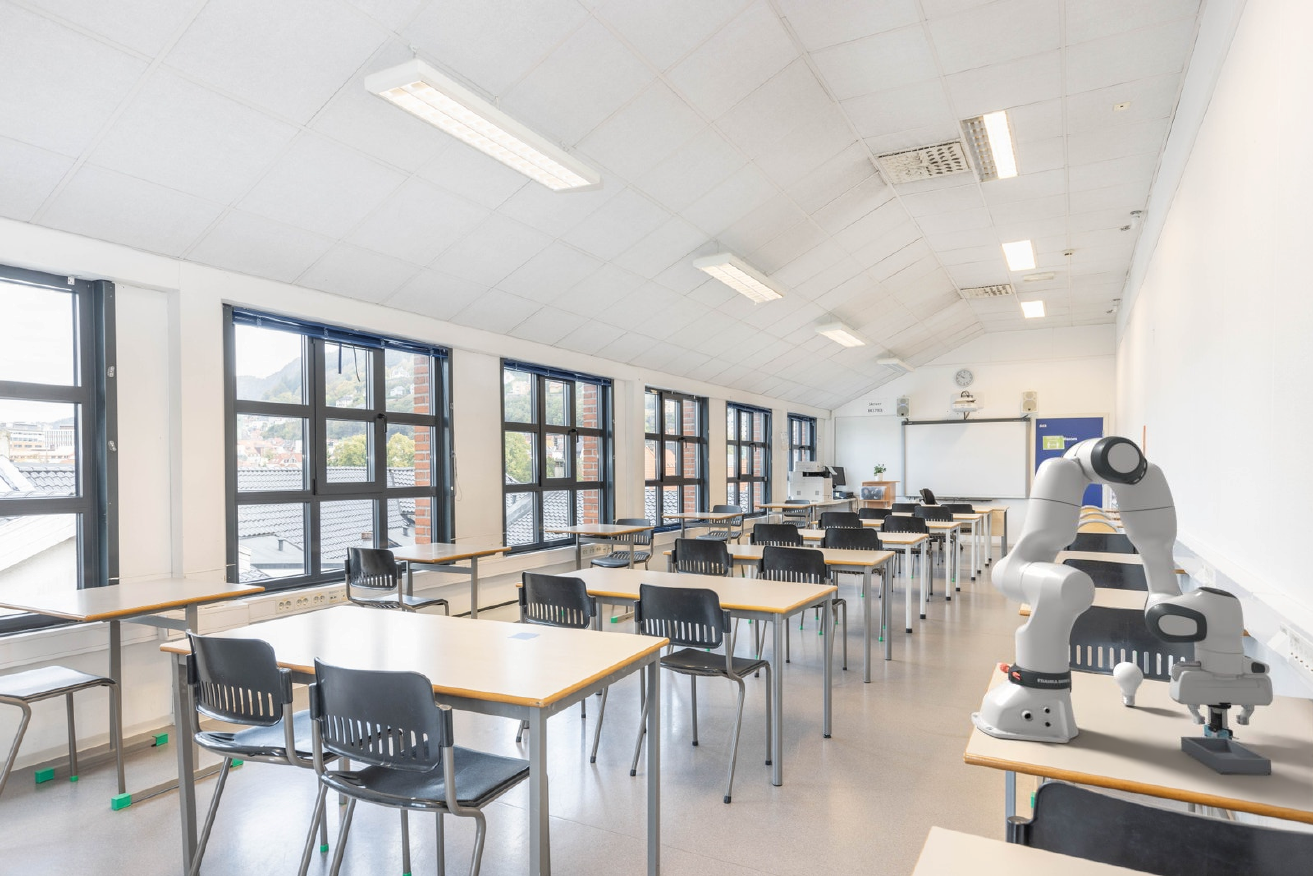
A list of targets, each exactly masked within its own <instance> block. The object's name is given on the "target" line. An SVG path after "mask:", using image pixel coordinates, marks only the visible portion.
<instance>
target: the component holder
mask: <svg viewBox="0 0 1313 876" xmlns="http://www.w3.org/2000/svg"><path fill="white" fill-rule="evenodd" d="M1237 742H1238V741H1236V742H1235V740H1233V739H1232V740H1231V739H1229V738H1227V737H1205V736H1180V744H1181V745H1180V748H1181V749H1180V750H1181V752H1183V753H1184V754H1186V755H1188V756H1189V757H1191V758H1193V759H1194V760H1196V761H1198V762H1200V763H1201V764H1203V765H1204V766H1206V767H1208V768H1210V769H1211V770H1213V771H1215V772H1216V773H1217V774H1218V773H1219V774H1220V775H1225V776H1226V775H1229V776H1230V775H1231V776H1232V775H1233V776H1234V775H1235V776H1237V775H1238V776H1272V759H1270V758H1267V757H1266V756H1264V755H1261V754H1260V753H1258V752H1256V751H1254V750H1253V749H1250V748H1249V747H1246V746H1245V745H1243V744H1240V742H1239V743H1237Z"/></svg>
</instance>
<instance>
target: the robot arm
mask: <svg viewBox="0 0 1313 876" xmlns="http://www.w3.org/2000/svg"><path fill="white" fill-rule="evenodd" d="M1092 484H1094V485H1107V486H1109V488H1110V489H1111V490H1112V491H1113V493H1114V496H1115V498H1116V505H1117V510H1118V515H1119V518H1120V521H1121V522H1120V523H1121V524H1122V528H1123V529H1124V532H1125V534H1126V537H1127V539H1128V540H1129V542H1130V543H1131V544H1132V545H1133V547H1134V548H1135V549H1136V550H1137V552H1138V554H1139V556H1140V558H1141V563H1142V566H1143V571H1144V575H1145V580H1146V585H1147V596H1146V600H1145V603H1144V608H1143V614H1144V622H1145V625H1146V629H1147V631H1149V633H1150V634H1151V635H1152V636H1153V637H1154V638H1156V639H1157V640H1160V641H1162V642H1164V643H1170V644H1187V643H1191V644H1192V643H1194V644H1193V645H1194V660H1191V661H1189V660H1188V661H1184V660H1179V661H1176V663H1174V664H1173V665H1172V666H1171V668H1170V681H1169V696H1170V698H1171V699H1172V700H1173V701H1174V702H1176V703H1178V704H1180V705H1184V706H1187V709H1188V710H1189V712H1190V714H1191V715H1192V721H1193V723H1194V724H1196V725H1206V717H1205V716H1203V715H1201V713H1200V712H1199V710H1200V709H1201V706H1207V705H1221V704H1219V702H1223V703H1231V704H1227V705H1231V706H1240V707H1241V708H1242V710H1241V712H1240V713H1239V714H1236V715H1235V716H1236V717H1235V718H1236V719H1235V720H1236V723H1237V724H1238V725H1240V726H1249V725H1250V718H1251V716H1252V715H1253V713H1254V712H1255V707H1256V706H1261V707H1262V706H1263V707H1264V706H1265V707H1266V706H1267V707H1268V706H1270V705H1271V704H1272V702H1273V701H1274V692H1273V683H1272V679H1271V677H1270V675H1268V674H1269V673H1270V670H1271V669H1270V667H1271V666H1270V665H1269V664H1267V663H1266V662H1264V661H1261V660H1257V659H1254V658H1252V657H1250V656H1248V655H1245V647H1244V644H1243V636H1244V633H1245V628H1244V615H1243V614H1244V612H1243V607H1242V603H1241V601H1240V600H1239V598H1238V597H1237V596H1235V595H1234V594H1233V593H1231V592H1229V591H1226V590H1224V589H1220V588H1215V587H1209V586H1199V587H1197V588H1196V589H1194V590H1192V591H1189V592H1187V593H1185V594H1183V593H1182V590H1181V587H1180V584H1179V581H1178V580H1179V579H1178V577H1177V570H1176V567H1175V562H1174V556H1173V555H1174V551H1173V550H1174V544H1175V541H1176V538H1177V535H1178V534H1177V533H1178V523H1177V521H1178V520H1177V511H1176V508H1175V507H1176V506H1175V503H1174V499H1173V494H1172V492H1171V489H1170V487H1169V483H1168V481H1167V479H1166V477H1165V474H1164V472H1163V470H1162V468H1161V467H1159V466H1158V465H1156V464H1155V463H1152V462H1149V461H1148V460H1147V458H1146V457H1145V456H1144V453H1143V451H1142V450H1141V448H1140V447H1139V445H1137V444H1136V443H1135V442H1134V441H1133V440H1131V439H1129V438H1127V437H1123V436H1119V435H1118V436H1117V435H1110V436H1106V437H1093V438H1088V439H1085V440H1081V441H1078V442H1075V443H1073V444H1071V445H1069V446H1068V447H1067V448H1066V449H1065V450H1064V451H1063V453H1061V455H1060V456H1058V457H1050V458H1047V459H1044V460H1043V461H1042V462H1041V463H1040V465H1039V466H1038V469H1037V471H1036V474H1035V476H1034V479H1033V482H1032V486H1031V489H1030V493H1029V497H1028V503H1027V508H1026V513H1025V519H1024V523H1023V527H1022V529H1021V532H1020V534H1019V537H1018V539H1017V541H1016V542H1015V544H1014V545H1013V547H1012V549H1011V550H1010V551H1009V553H1007V555H1005V556H1004V557H1003V558H1001V559H999V560H998V561H997V562H996V563H995V564H994V566H993V567H992V571H991V574H990V575H991V577H990V578H991V583H992V586H993V588H994V589H995V590H996V592H998V593H999V594H1000V595H1002V596H1003V597H1006V598H1007V599H1009V600H1011V601H1014V602H1017V603H1019V604H1025V605H1028V606H1030V613H1029V614H1030V615H1029V617H1028V620H1027V622H1025V623H1023V624H1021V625H1020V626H1018V628H1017V629H1016V630H1015V633H1014V634H1015V635H1014V637H1015V641H1014V642H1015V644H1014V645H1015V662H1014V663H1013V664H1012V665H1011V666H1010V665H1008V664H1007V663H1005V662H1003V663H1001V664H1000V665H999V670H1000V671H1001V672H1003V673H1004V674H1007V679H1006V680H1005V681H1003V682H1001V683H1000V684H999V685H997V686H995V688H993V689H991V690H990V691H988V692H986V693H985V695H984V697H983V699H982V702H981V709H980V711H975V712H972V714H971V717H970V719H971V722H972V723H973V725H975V727H977V728H978V729H979V730H980V731H982V732H984V733H985V734H987V735H989V736H992V737H995V738H1000V739H1011V740H1022V741H1023V740H1024V741H1033V742H1034V741H1036V742H1047V743H1060V744H1067V743H1069V742H1070V739H1073V738H1075V737H1077V736H1078V735H1079V729H1078V727H1077V726H1078V725H1077V723H1076V720H1075V719H1076V718H1075V716H1074V710H1073V704H1072V703H1073V702H1072V696H1071V693H1072V689H1073V688H1072V685H1073V680H1072V669H1070V637H1071V632H1072V629H1073V626H1074V624H1075V623H1076V620H1077V619H1078V618H1079V616H1081V614H1083V613H1084V612H1086V611H1087V610H1089V609H1090V607H1092V605H1093V603H1094V601H1095V597H1096V587H1095V583H1094V581H1093V579H1092V578H1091V576H1090V575H1089V574H1088V573H1087V572H1084V571H1082V570H1080V569H1079V568H1075V567H1073V566H1070V565H1069V564H1064V563H1059V562H1058V563H1057V562H1055V561H1056V559H1057V557H1058V556H1059V554H1060V553H1061V551H1062V550H1064V549H1065V548H1066V547H1068V546H1070V545H1072V544H1073V543H1074V542H1075V540H1076V539H1077V537H1078V536H1077V535H1078V530H1079V524H1080V517H1081V512H1082V506H1083V499H1084V495H1085V492H1086V490H1087V488H1088V486H1090V485H1092ZM979 714H980V718H979Z"/></svg>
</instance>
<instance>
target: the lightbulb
mask: <svg viewBox="0 0 1313 876" xmlns="http://www.w3.org/2000/svg"><path fill="white" fill-rule="evenodd" d="M1113 668H1114V669H1113V672H1112V673H1113V677H1114V680H1115V681H1116V683H1117V685H1119V688H1120V692H1121V693H1122V703H1123V705H1125V706H1126V707H1130V708H1131V707H1133V706H1136V699H1135V698H1136V694H1137V690H1138V688H1139V687H1140V686H1141V685H1142V684H1143V681H1144V674H1143V672H1142V670H1141V668H1140V667H1139V666H1138V665H1137V664H1135V663H1132V662H1128V661H1122V662H1120V663H1117V664H1116V665H1115V666H1114V667H1113Z"/></svg>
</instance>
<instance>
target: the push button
mask: <svg viewBox="0 0 1313 876" xmlns="http://www.w3.org/2000/svg"><path fill="white" fill-rule="evenodd" d="M1219 704H1221V705H1206V706H1207V721H1206V723H1207V724H1203V726H1204V727H1203V728H1204V731H1203V732H1204V737H1227V738H1229V739H1231V740H1233V739H1235V740H1240V738H1239V737H1236V736H1234V731H1233V730H1232V729H1230V726H1228V725H1229V723H1228V710H1230V709H1232V705H1227V704H1231V703H1223V702H1219ZM1235 740H1234V741H1235ZM1235 742H1237V743H1239V744H1240V742H1238V741H1235Z"/></svg>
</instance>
